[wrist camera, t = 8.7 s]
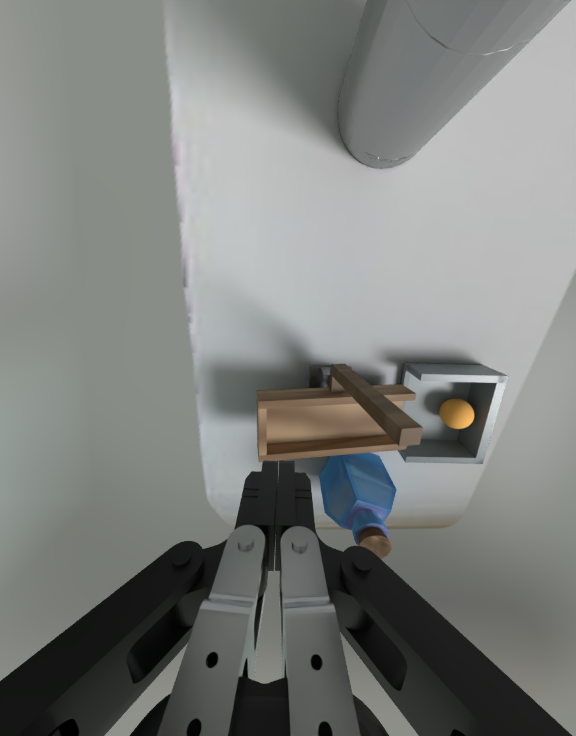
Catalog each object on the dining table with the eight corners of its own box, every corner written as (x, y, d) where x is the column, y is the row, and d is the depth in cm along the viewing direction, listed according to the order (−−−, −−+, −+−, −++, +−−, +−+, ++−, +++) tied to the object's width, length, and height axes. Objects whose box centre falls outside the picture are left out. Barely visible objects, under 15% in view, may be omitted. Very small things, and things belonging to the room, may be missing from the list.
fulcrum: (309, 365, 33) (311, 374, 30) (350, 366, 33) (357, 375, 30) (306, 437, 36) (307, 451, 33) (343, 438, 36) (348, 452, 33)
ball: (439, 392, 34) (446, 403, 31) (472, 396, 33) (482, 408, 30) (434, 417, 35) (439, 431, 32) (465, 422, 34) (474, 437, 31)
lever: (256, 362, 28) (271, 438, 15) (406, 358, 31) (531, 419, 18) (257, 446, 31) (270, 571, 18) (393, 436, 34) (491, 536, 21)
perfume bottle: (379, 456, 37) (419, 534, 26) (358, 490, 39) (388, 577, 27) (338, 441, 36) (360, 515, 25) (319, 476, 38) (332, 561, 27)
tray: (403, 363, 33) (419, 373, 29) (483, 364, 33) (508, 376, 29) (390, 443, 36) (402, 462, 33) (462, 444, 36) (482, 463, 33)
